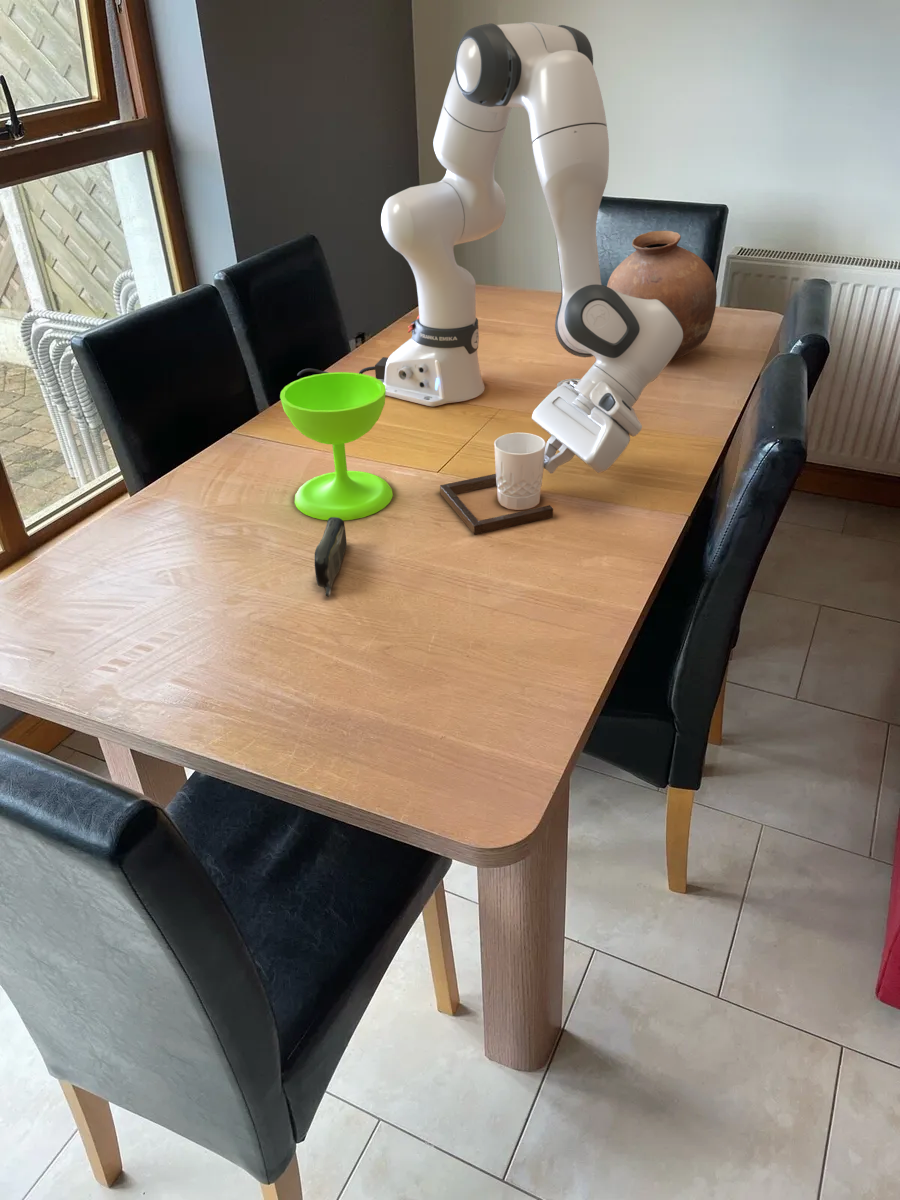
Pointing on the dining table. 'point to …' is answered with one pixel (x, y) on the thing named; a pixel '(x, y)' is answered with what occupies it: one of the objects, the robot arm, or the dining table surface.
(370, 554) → the dining table surface
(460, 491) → the walnut frame
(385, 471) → the dining table surface
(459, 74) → the robot arm
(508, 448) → the white cup
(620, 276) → the pottery
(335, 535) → the mobile phone
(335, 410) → the wineglass
